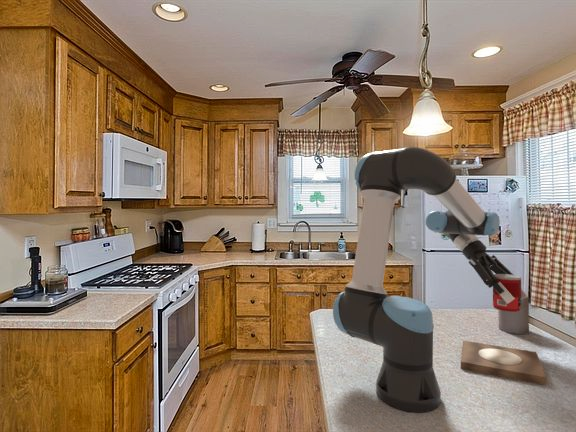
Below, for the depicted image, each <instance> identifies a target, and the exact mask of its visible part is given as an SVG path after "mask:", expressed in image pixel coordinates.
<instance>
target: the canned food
mask: <svg viewBox="0 0 576 432" xmlns="http://www.w3.org/2000/svg"><path fill="white" fill-rule="evenodd" d="M493 274H494V273H493ZM494 276H495V278H496V280H497V281H498V282H501V284H502V285H503V286H504V287H505V288H506V289H507V290H508V291H509V293H510V294H511V295H512V296H513V297H514V298H515V299H514V300H513V301H511V302H510V303H508V304H507V303H506V302H505V300H504V299H503V298H502V297H501V296H500V295H499V293H498V292H497V291H496V290H495V289H494V288H493V287H492V305H493V308H494V309H496V310H503V311H510V312H517V311H520V309H521V288H522V277H521V276H520V275H516V274H513V275H510V274H496V273H495V274H494ZM498 282H497V283H498Z"/></svg>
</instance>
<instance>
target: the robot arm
mask: <svg viewBox="0 0 576 432" xmlns="http://www.w3.org/2000/svg"><path fill="white" fill-rule="evenodd" d="M354 180H355V185H356V187H357V188H358V189H359V190H360V191H359V195H360V196H361V197H362V199H363V205H362V211H361V218H360V223H359V224H360V225H359V232H358V239H357V243H356V252H355V257H354V263H353V271H352V276H351V280H350V281H349V282H348V283H347V284H345V286H344V291H342V292H340V293H339V294H338V295H337V297H336V298H335V300H334V303H333V305H332V318H333V321H334V323H335V325H336V326H337V328H338V330H339V331H340V332H341V333H344V334H346V335H348V336H350V337H351V338H355V339H359V340H363V341H365V342H369V343H371V344H374V345H377V346H380V347H382V349H383V350H382V352H383V353H382V354H383V359H382V360H383V361H382V363H381V367H380V370H379V372H378V375H377V379H376V382H375V384H376V385H375V391H376V392H375V393H376V395H377V397H378V398H379V399H380V400H381V401H382V402H383V403H385V404H386V405H388V406H389V407H392V408H395V409H398V410H401V411H405V412H410V413H411V412H412V413H424V412H430V411H433V410H436V409H437V408H438V407H439V406H440V405H441V403H442V400H441V399H442V397H441V388H440V386H439V382H438V379H437V376H436V373H435V371H434V366H433V364H434V360H433V359H434V354H433V353H434V329H435V328H434V327H435V325H434V320H433V312H432V310H431V308H430V307H429V306H428V305H427V304H426V303H424V302H423V301H420V300H418V299H416V298H412V297H407V296H399V295H391V296H388V292H387V291H386V290H385V288H384V286H383V285H384V278H385V270H386V264H387V257H388V249H389V243H390V236H391V229H392V222H393V214H394V208H395V207H394V206H395V204H396V202H398V201H400V199H401V197H402V192H403V191H404V190H420V191H423V192H425V194H427V195H428V196H434V197H435V198H436V199H437V200H438V201H439V202H440V203H441V204H442V206H443V207H445V208H446V209H447V210H444V211H442V210H432V211H431V212H429V213H428V214H427V216H426V218H425V225H426V227H427V228H428V230H430V231H431V232H434V233H439V234H442V235H446V236H447V237H448V238H449V239H450V240H451V242H452V243H453V244H454V245H455V247H456V248H457V249H458V250H459V251H461V254H462V255H464V257H465V258H466V259H467V260H468V264H469V265H470V266H471V267H472V268H473V269H474V270H475V273H477V275H478V276H479V278H480V279H481V280H482V281H483V283H484V284H485V285H486V286H487V287H488V288H489V289H490V288H492V289H493V288H494V289H495V290H496V291H497V292H498V293H499V295H500V296H501V297H502V298H503V299H504V300H505V302H506V303H507V304H508V303H510V302H511V301H513V300H514V299H515V298H514V297H513V296H512V295H511V294H510V293H509V291H508V290H507V289H506V288H505V287H504V286H503V285H502V284H501V282H498V281H497V280H496V278H495V276H494V273H495V274H510V275H514V273H512V272H511V270H509V268H507V267H506V266H505V265H504V264H503V263H502V262H501V261H500V260H499V259H498V258H497V256H495V254H492V256H490V255H489V254H488V253H487V252H486V250H487V246H486V245H485V244H484V243H483V242H482V241H481V240H479V237H478V236H495V235H497V234H498V232H499V231H500V222H501V221H500V217H499V215H498V214H497V213H496V212H490V211H487V212H486V211H484V210H483V208H482V207H481V206H480V205H479V204H478V203H477V201H476V200H475V199H474V198H473V196H471V194H470V193H469V192H468V191H467V189H465V187H464V186H463V185H462V184H461V182H460V180H458V178H457V172H456V170H455V169H454V168H453V166H452V165H451V164H450V163H449V162H448V161H447V160H446V159H445V158H442V156H440V155H438V154H437V153H435V152H432V151H430V150H428V149H425V148H422V147H417V146H407V147H402V148H395V149H388V150H383V151H381V150H378V151H377V150H376V151H374V152H369V153H367V154H365V155H363V156H362V157H361V158H360V159H359V160H358V162H357V164H356V166H355V169H354ZM402 190H403V191H402ZM497 282H498V283H497ZM526 296H528V297H529V294H528V293H527V292H526V291H524V289H523V288H522V287H521V300H522V299H524V298H525V297H526Z"/></svg>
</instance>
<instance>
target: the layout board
mask: <svg viewBox="0 0 576 432" xmlns="http://www.w3.org/2000/svg"><path fill="white" fill-rule="evenodd" d="M460 369H463V370H467V371H473V372H477V373H483V374H488V375H493V376H498V377H504V378H509V379H513V380H519V381H524V382H530V383H534V384H540V385H544V386H547V375H546V372H545V370H544V368H543V365H542V363H541V360H540V358H539V356H538V353H537V351H533V350H526V349H518V348H513V347H507V346H500V345H494V344H488V343H481V342H475V341H469V340H463V341H462V347H461V355H460Z"/></svg>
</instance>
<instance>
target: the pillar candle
mask: <svg viewBox="0 0 576 432" xmlns="http://www.w3.org/2000/svg"><path fill="white" fill-rule="evenodd" d="M529 305H530V304H529V295H528V296H526V297H525V298H524V299H522V300H521V309H520V311H517V312H510V311H503V310H498V309H497V310H498V329H499V330H500V331H502V332H504V333H508V334H515V335H526V334H529V332H530V319H529V317H530V315H529V313H530V312H529V310H530V309H529Z"/></svg>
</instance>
